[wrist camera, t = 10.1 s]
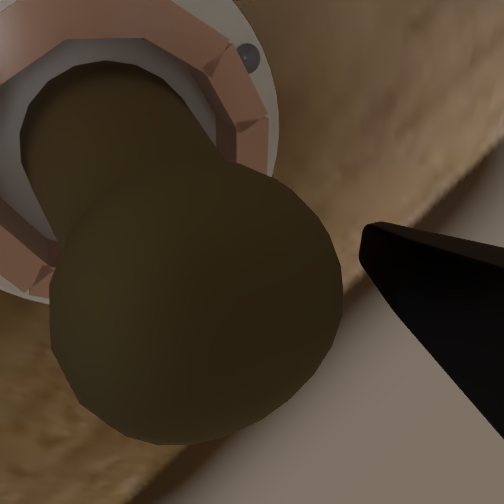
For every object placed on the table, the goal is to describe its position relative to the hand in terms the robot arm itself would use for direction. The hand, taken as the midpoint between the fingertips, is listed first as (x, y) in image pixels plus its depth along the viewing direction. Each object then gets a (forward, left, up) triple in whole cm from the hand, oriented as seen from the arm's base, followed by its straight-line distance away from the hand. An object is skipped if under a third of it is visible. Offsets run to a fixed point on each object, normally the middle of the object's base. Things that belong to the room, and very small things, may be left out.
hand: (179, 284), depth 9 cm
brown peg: (0, 0, -9) cm, 9 cm away
